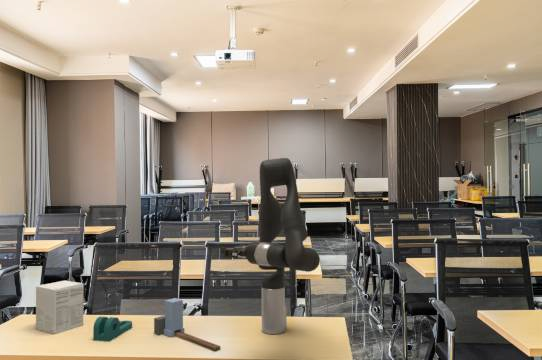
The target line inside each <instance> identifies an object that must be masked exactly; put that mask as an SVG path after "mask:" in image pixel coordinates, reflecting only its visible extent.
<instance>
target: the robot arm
mask: <svg viewBox="0 0 542 360" xmlns="http://www.w3.org/2000/svg"><path fill="white" fill-rule="evenodd" d="M259 165H260V166H259V191H260V199H259V200H260V205H259V219H258V220H259V221H258V222H259V229H258V230H259V237H258V239H259V240H258V241H257V240H254V241H251V242H250V243H249V244H248V245H245V244H244V245H243V244H239V245H238V246H234V247H220V248H219V249H220V251H219V252H220V255H223V257H225V258H231V259H232V258H233V259H238V258H242V259H246V260H247V261H248V263H250V264H252V265H257V266H258V268H259V269H260V270H263V271H268V270H270V271H275V272H274V273H273V274H271V275H269V276H266V277H264V278H262V280H261V284H260V285H261V331H262V332H263V333H264V334H268V335H279V334H282V333H284V332H286V330H287V328H288V327H287V325H288V323H287V305H286V304H285V303H286V301H285V300H286V294H285V291H286V289H285V287H286V286H285V285H286V284H285V269H286V268H288V269H292V270H294V271H300V272H308V273H310V272H312V271H315V270H316V269H317V268H318V267H319V265H320V262H321V259H320V255H319V254H318V251H316V250H314V249H313V248H309V247H306V246H304V241H306V239H307V238H308V231H307V228H306V227H307V226H306V223H305V219H304V217H303V214H302V210H301V204H300V200H299V199H300V197H299V193H298V191H299V190H298V185H297V181H296V179H297V178H296V174H295V169H294V166H293V163H292V161H291V160H290V158H288V157H281V158H271V159H266V160H263V161H261V163H260V164H259ZM280 186H281V187H282V186H286V197H285V200H284V202H283V205H282V204H281V203H280V202H279V201H278V200H277V198H276V197H275V196H274V194H273V193H272V191H271V190H272V188H275V187H280ZM282 231H283V234H284V239H285V242H284V243H285V244H278V243H272V242H273V241H275V240H276V238H277V237H279V235H280V234H281V233H282Z"/></svg>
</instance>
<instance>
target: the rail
mask: <svg viewBox="0 0 542 360" xmlns="http://www.w3.org/2000/svg"><path fill="white" fill-rule="evenodd" d="M173 337H176V338H179V339H182V340H184V341H186V342H189V343H191V344H194V345H197V346H200V347H202V348H205V349H207V350H210V351H213V352H218V351H221V345H218V344H216V343H213V342H210V341H207V340H205V339H202V338H199V337H197V336H193V335H192V334H189V333H187V332H186V333H185V332H184V333H183V332H181V331H178V330H176V331H174V336H173Z"/></svg>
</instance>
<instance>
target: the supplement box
mask: <svg viewBox="0 0 542 360" xmlns="http://www.w3.org/2000/svg"><path fill="white" fill-rule="evenodd" d="M81 326H84V282H83V283H82V282H76V281H70V280H65V279H64V280H60V281H56V282H51V283H45V284H40V285H36V286H35V330H39V331H42V332H46V333H50V334H52V335H56V334H58V333H62V332H66V331H69V330H72V329H75V328H78V327H81Z"/></svg>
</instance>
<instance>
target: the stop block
mask: <svg viewBox="0 0 542 360" xmlns="http://www.w3.org/2000/svg"><path fill="white" fill-rule="evenodd" d="M153 321H154V322H153V326H154V327H153V329H154V330H153V334H154V335H157V336H161V335H164V334H163V329H165V315H162V316H157V317H154V318H153Z"/></svg>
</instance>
